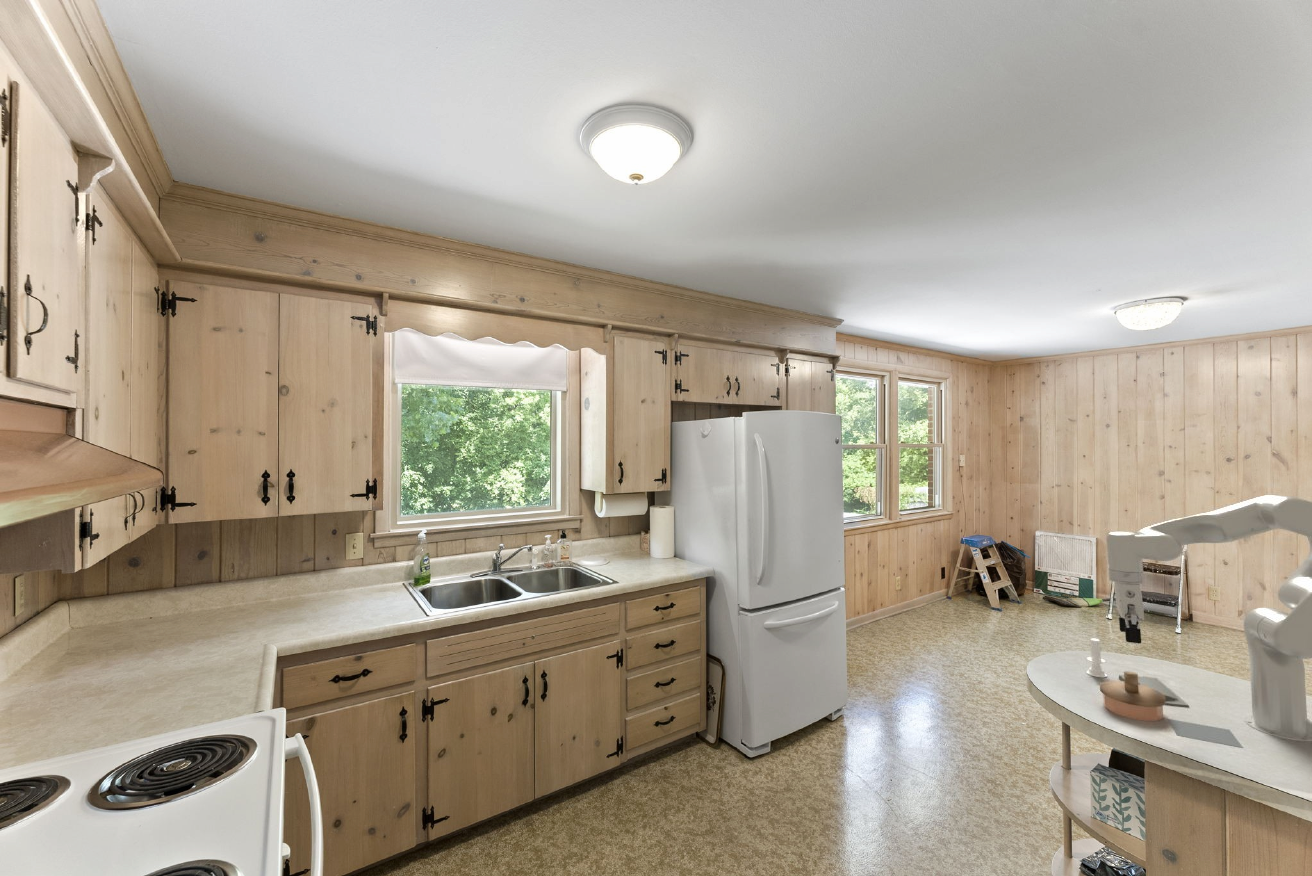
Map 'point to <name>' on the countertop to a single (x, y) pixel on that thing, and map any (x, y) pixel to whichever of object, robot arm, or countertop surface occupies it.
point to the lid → (1132, 692)
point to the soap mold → (1160, 690)
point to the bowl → (1133, 710)
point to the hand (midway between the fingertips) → (1130, 637)
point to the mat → (1204, 733)
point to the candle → (1096, 659)
